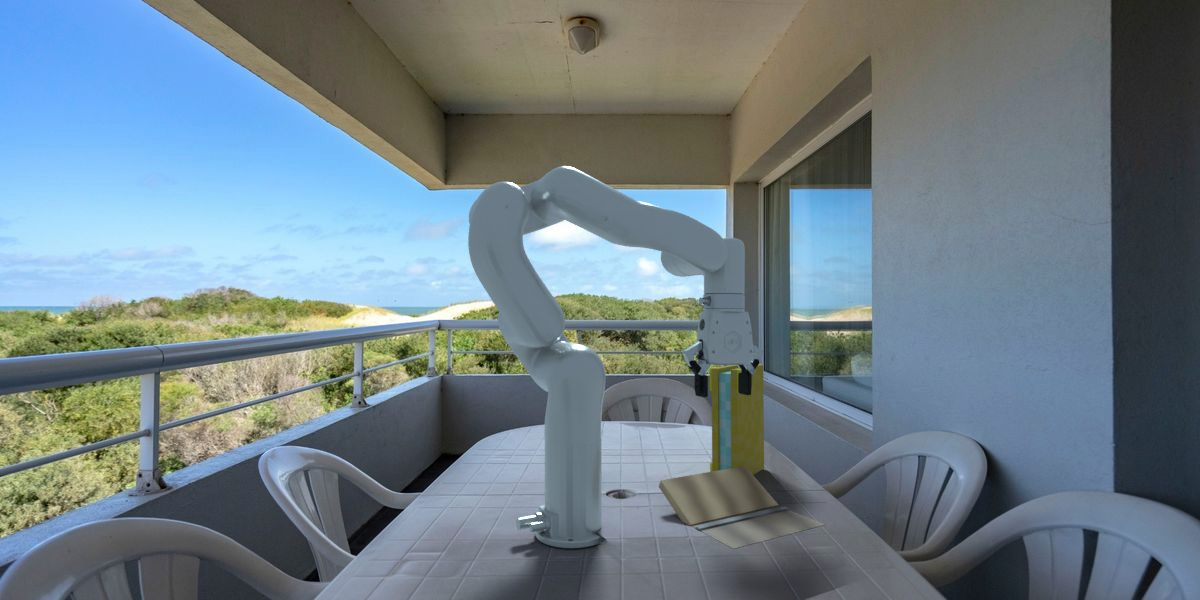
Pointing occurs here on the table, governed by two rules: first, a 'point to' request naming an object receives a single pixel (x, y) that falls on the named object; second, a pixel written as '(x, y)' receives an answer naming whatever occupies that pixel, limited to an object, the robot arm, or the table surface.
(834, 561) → the table surface
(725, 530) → the laid plank
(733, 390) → the book
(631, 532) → the table surface
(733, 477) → the board
